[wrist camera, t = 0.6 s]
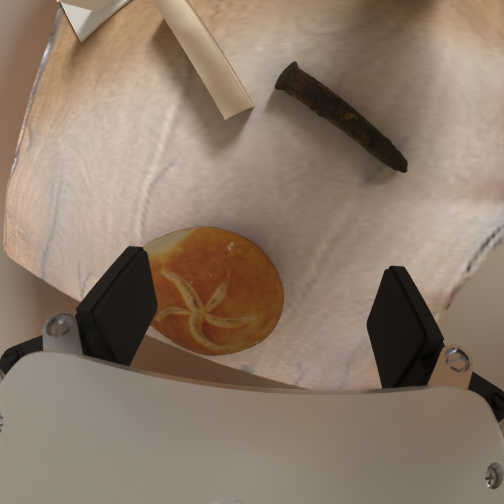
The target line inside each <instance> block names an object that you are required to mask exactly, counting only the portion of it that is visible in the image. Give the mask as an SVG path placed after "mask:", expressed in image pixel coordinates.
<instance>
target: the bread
mask: <svg viewBox="0 0 504 504" xmlns="http://www.w3.org/2000/svg"><path fill="white" fill-rule="evenodd" d="M143 249H144V251H146V252H147V253H148V258H149V263H150V268H151V274H152V279H153V284H154V289H155V293H156V298H157V303H158V308H157V312H156V314H155V316H154V318H153V320H152V322H151V323H150V325H151V326H152V327H153V328H155V329H156V330H157V331H159V332H160V333H161V334H163V335H164V336H165V337H167V338H168V339H170V340H171V341H173V342H174V343H176V344H177V345H179V346H181V347H183V348H185V349H188V350H190V351H193V352H195V353H199V354H203V355H210V356H217V355H225V354H231V353H235V352H239V351H242V350H245V349H247V348H250V347H253V346H255V345H257V344H258V343H260V342H262V341H263V340H264V339H266V338H267V337H268V336H269V335H270V334H271V333H272V331H273V330H274V328H275V327H276V325H277V323H278V321H279V319H280V316H281V313H282V309H283V302H284V293H283V287H282V282H281V280H280V277H279V275H278V273H277V271H276V269H275V267H274V265H273V264H272V262H271V261H270V260H269V258H268V257H267V256H266V254H265V253H264V252H263V251H262V250H261V249H260V248H259V247H258V246H257V245H256V244H254V243H253V242H251V241H250V240H248V239H247V238H245V237H243V236H241V235H238V234H236V233H233V232H229V231H226V230H222V229H218V228H214V227H203V226H201V227H193V228H188V229H183V230H179V231H175V232H171V233H169V234H167V235H164V236H162V237H160V238H158V239H155V240H153V241H151V242H149V243H147V244H146V245H145V246H144V247H143Z"/></svg>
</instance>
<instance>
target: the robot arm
mask: <svg viewBox="0 0 504 504" xmlns="http://www.w3.org/2000/svg"><path fill="white" fill-rule="evenodd" d="M157 308H158V303H157V298H156V293H155V289H154V284H153V279H152V274H151V268H150V263H149V258H148V253H147V252H146V251H144V249H143V248H142V247H134V246H129V247H127V248H126V250H125V251H124V252H123V253H122V254H121V255H120V256H119V257H118V259H117V260H116V261H115V262H114V263H113V264H112V265H111V267H110V268H109V269H108V270H107V271H106V272H105V274H104V275H103V276H102V277H101V278H100V279H99V281H98V282H97V283H96V284H95V285H94V287H93V288H92V289H91V290H90V292H89V293H88V294H87V295H86V297H85V298H84V299H83V300H82V302H81V303H80V304H79V305H78V307H77V308H76V310H77V314H76V315H75V316H74V315H73V314H70V313H66V312H63V313H59V314H56V315H54V316H52V317H51V318H49V319H48V320H47V322H46V323H45V325H44V326H43V335H41V336H39V337H36V338H34V339H31V340H29V341H26V342H23V343H21V344H18V345H16V346H13V347H11V348H9V349H7V350H6V351H5V352H4V354H3V355H2V357H1V359H0V504H504V392H503V391H502V390H501V389H499V388H498V387H496V386H495V385H493V384H491V383H490V382H488V381H487V380H485V379H484V378H482V377H480V376H479V375H477V374H476V373H474V372H473V360H472V357H471V356H470V354H469V353H468V352H467V351H466V350H465V349H464V348H462V347H461V346H458V345H453V344H450V345H447V346H444V343H443V340H444V338H443V336H442V334H441V331H440V330H439V327H438V325H437V324H436V322H435V320H434V318H433V316H432V314H431V312H430V310H429V308H428V306H427V305H426V303H425V301H424V299H423V297H422V296H421V294H420V292H419V290H418V289H417V287H416V285H415V283H414V282H413V280H412V278H411V277H410V275H409V273H408V272H407V270H406V268H405V267H403V266H390V267H389V269H386V270H385V271H384V274H383V277H382V280H381V283H380V286H379V289H378V292H377V295H376V298H375V301H374V304H373V306H372V309H371V312H370V314H369V317H368V320H367V330H368V334H369V337H370V341H371V345H372V349H373V352H374V356H375V360H376V364H377V368H378V372H379V376H380V381H381V385H382V389H364V390H293V389H274V388H260V387H249V386H240V385H231V384H223V383H215V382H208V381H201V380H195V379H189V378H182V377H177V376H172V375H167V374H161V373H156V372H152V371H147V370H143V369H138V368H134V367H130V364H131V362H132V360H133V358H134V355H135V353H136V351H137V349H138V347H139V345H140V343H141V341H142V339H143V337H144V335H145V333H146V331H147V329H148V327H149V325H150V323H151V322H152V320H153V318H154V316H155V314H156V312H157Z"/></svg>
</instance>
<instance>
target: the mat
mask: <svg viewBox="0 0 504 504" xmlns="http://www.w3.org/2000/svg"><path fill="white" fill-rule="evenodd" d="M129 1H131V0H111V1H110V2H109V3H107V4H106V5H105V6H104V7H103V8H101V9H100V10H99V11H98V12H94V11H91V10H87V9H84V8H80V7H76V6H73V5H69V4H64V3H61V4H62V6H63V8H64V10H65V12H66V14H67V16H68V18H69V20H70V22H71V24H72V26H73V28H74V30H75V32H76V34H77V36H78V38H79V40H80V42H83V41H84V40H85V39H86V38H87V37H88V36H89V35H90V34H91V33H93V32H94V31H95V30H96V29H97V28H98V27H99V26H100V25H101V24H102V23H104V22H105V21H106V20H107V19H108V18H109V17H111V16H112V15H113V14H114V13H115V12H117V11H118V10H119V9H120V8H122V7H123V6H124V5H125V4H127V3H128V2H129Z"/></svg>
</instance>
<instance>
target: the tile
mask: <svg viewBox="0 0 504 504" xmlns="http://www.w3.org/2000/svg"><path fill="white" fill-rule="evenodd" d="M110 1H111V0H57V2H60V3H64V4H69V5H73V6H76V7H80V8H84V9H87V10H91V11H94V12H98V11H99V10H100V9H101V8H103V7H104V6H105V5H106V4H107V3H109V2H110Z"/></svg>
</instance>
